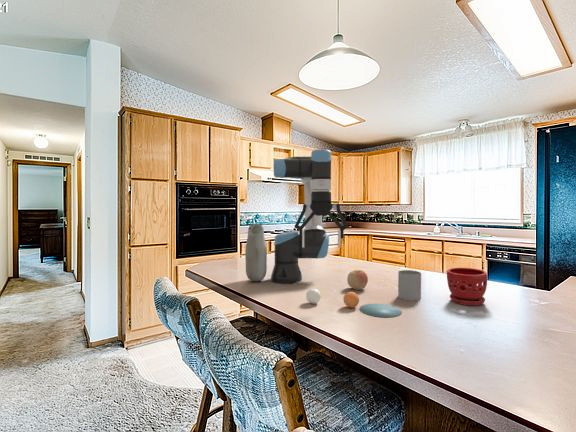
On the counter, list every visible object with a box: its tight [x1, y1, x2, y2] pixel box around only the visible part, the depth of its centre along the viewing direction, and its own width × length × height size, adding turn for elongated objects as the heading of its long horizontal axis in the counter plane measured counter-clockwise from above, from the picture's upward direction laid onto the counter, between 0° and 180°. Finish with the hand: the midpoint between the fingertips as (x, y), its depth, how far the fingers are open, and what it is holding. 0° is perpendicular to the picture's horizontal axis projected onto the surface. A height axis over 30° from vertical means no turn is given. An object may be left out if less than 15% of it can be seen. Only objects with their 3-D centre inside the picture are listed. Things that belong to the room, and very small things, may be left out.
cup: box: [397, 269, 422, 302], centre depth 125 cm, size 8×8×10 cm
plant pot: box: [446, 267, 488, 307], centre depth 119 cm, size 13×13×12 cm
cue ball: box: [305, 288, 322, 305], centre depth 118 cm, size 6×6×6 cm
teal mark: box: [359, 303, 402, 318], centre depth 110 cm, size 14×14×1 cm
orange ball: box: [343, 291, 360, 309], centre depth 113 cm, size 6×6×6 cm
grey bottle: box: [244, 222, 268, 283], centre depth 153 cm, size 10×10×28 cm
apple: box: [346, 269, 369, 291], centre depth 138 cm, size 9×9×8 cm
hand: (321, 247), depth 120 cm, fingers open, 13 cm apart
